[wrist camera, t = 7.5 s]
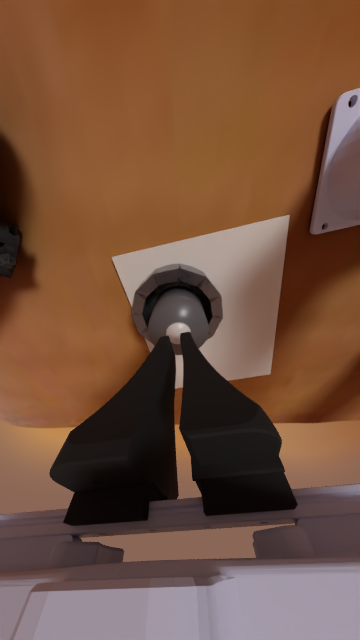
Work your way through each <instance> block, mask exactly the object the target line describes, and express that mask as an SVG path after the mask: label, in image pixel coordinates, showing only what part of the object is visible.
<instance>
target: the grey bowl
mask: <svg viewBox="0 0 360 640" xmlns="http://www.w3.org/2000/svg"><path fill="white" fill-rule="evenodd" d="M176 285H181V286H186V287H188V288H190V289H192V290H193V291H195V292H196V293H197V295H198V296H199V298H200V300H201V303H202V306H203V309H204V313H205V316H206V319H207V322H208V325H209V334H208V338H207V340H208V339H209V338H211V337H212V336H213V335H214V334H215V332H216V330H217V328H218V326H219V324H220V322H221V321H222V319H223V309H222V297H221V294H220V293H219V291H218V290H217V288H216V287H215V286H214V285H213V283H212V282H211V281H210V280H209V278H208V277H207V276H206V275H205V274H204V272H202V271H201V270H198V269H197V268H194V267H192V266H189V265H185V264H170V265H166V266H162V267H160V268H157V269H155V270H154V271H153V272H152V273H151V274H150V275H148V277H147V278H146V279H145V280H144V281H143V282H142V283H141V284H140V285H139V287H138V288H137V290H136V291H135V294H134V300H133V305H132V310H131V315H132V318H133V320H134V323H135V325H136V327H137V330H138V332H139V334H141V335H142V336H143V337H144V338H146V339H147V340H148V341H150V342H151V340H150V338H149V335H148V324H149V321H150V318H151V314H152V311H153V308H154V304H155V301H156V298H157V297H158V295H159V294H160V293H161V292H162V291H163V290H164V289H166V288H168V287H170V286H176ZM151 343H152V342H151ZM152 344H153V343H152Z"/></svg>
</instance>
